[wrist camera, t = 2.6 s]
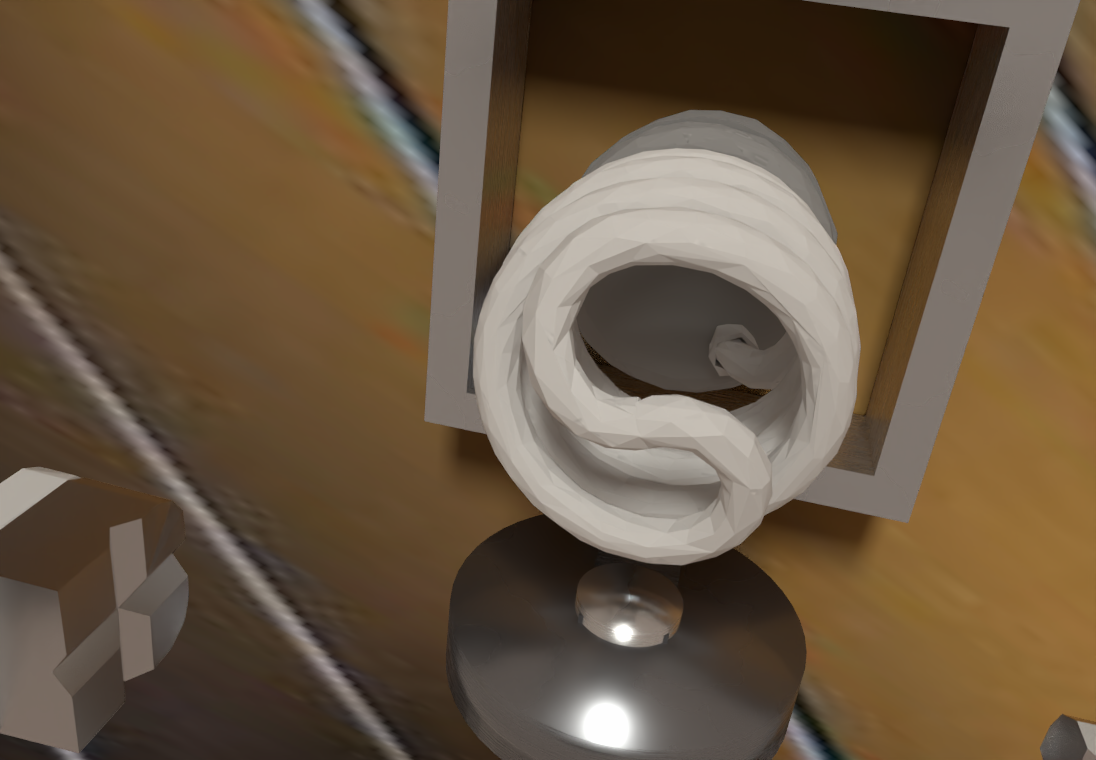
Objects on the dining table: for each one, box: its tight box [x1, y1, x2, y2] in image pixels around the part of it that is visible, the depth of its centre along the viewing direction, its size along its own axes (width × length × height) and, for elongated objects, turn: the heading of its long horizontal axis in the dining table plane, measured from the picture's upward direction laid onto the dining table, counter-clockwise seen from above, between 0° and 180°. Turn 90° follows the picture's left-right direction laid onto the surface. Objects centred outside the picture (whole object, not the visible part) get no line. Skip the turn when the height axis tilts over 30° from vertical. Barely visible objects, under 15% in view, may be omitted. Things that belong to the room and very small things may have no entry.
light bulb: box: [473, 110, 861, 565], centre depth 18 cm, size 6×6×12 cm
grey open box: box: [424, 0, 1080, 760], centre depth 20 cm, size 16×12×9 cm
